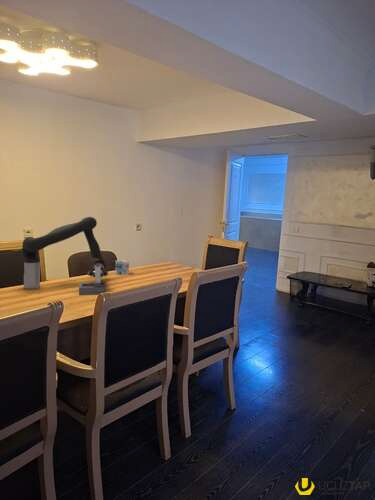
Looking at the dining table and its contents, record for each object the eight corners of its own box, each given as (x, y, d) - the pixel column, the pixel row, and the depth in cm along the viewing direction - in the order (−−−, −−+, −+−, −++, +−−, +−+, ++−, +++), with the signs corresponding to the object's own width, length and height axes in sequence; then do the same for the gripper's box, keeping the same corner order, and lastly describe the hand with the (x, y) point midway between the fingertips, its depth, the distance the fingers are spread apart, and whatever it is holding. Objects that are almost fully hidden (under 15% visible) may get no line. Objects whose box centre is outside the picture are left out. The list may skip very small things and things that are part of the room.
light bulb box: (115, 274, 275) (115, 261, 274) (115, 273, 282) (115, 260, 280) (129, 274, 278) (129, 261, 276) (128, 272, 284) (128, 260, 283)
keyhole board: (78, 294, 216) (78, 286, 216) (80, 289, 228) (80, 281, 227) (105, 294, 220) (105, 285, 219) (105, 289, 232) (105, 281, 231)
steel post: (92, 290, 221) (92, 267, 219) (93, 287, 227) (93, 265, 224) (102, 290, 222) (102, 267, 220) (102, 287, 228) (102, 265, 226)
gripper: (87, 264, 235) (86, 270, 218) (109, 264, 238) (109, 270, 221) (87, 275, 236) (86, 281, 219) (108, 275, 239) (108, 281, 222)
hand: (97, 275), depth 220 cm, fingers closed on steel post, 3 cm apart
